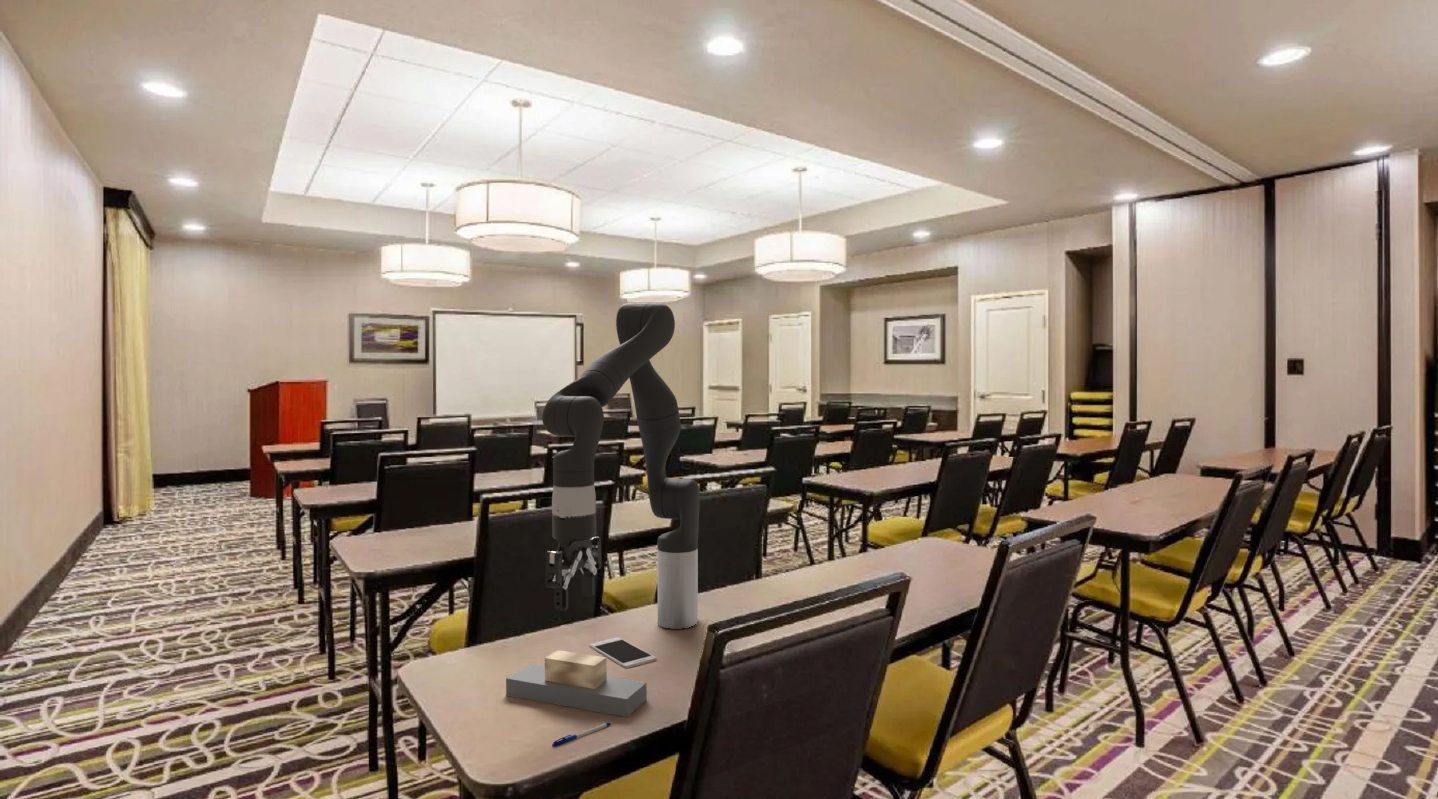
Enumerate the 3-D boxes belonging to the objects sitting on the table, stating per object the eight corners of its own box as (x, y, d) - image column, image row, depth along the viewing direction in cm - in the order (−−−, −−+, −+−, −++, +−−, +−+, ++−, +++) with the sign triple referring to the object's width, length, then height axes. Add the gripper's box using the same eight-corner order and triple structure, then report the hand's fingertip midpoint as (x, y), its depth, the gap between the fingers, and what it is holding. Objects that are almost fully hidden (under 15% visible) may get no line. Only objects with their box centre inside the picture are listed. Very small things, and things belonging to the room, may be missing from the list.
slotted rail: (506, 695, 129) (506, 678, 129) (530, 679, 136) (530, 663, 136) (626, 717, 121) (626, 699, 121) (646, 699, 127) (646, 682, 127)
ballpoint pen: (554, 749, 110) (554, 742, 110) (551, 747, 111) (551, 741, 111) (611, 726, 118) (611, 720, 118) (607, 724, 119) (607, 718, 119)
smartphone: (618, 640, 158) (618, 636, 158) (656, 661, 146) (656, 657, 146) (588, 648, 154) (588, 643, 154) (625, 670, 142) (625, 665, 142)
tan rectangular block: (545, 697, 128) (544, 657, 128) (557, 688, 132) (557, 650, 132) (594, 706, 125) (594, 665, 125) (606, 697, 128) (606, 657, 128)
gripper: (577, 502, 136) (578, 589, 136) (531, 516, 122) (532, 612, 123) (613, 505, 133) (614, 593, 133) (570, 519, 120) (571, 617, 120)
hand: (575, 602), depth 128 cm, fingers open, 8 cm apart
